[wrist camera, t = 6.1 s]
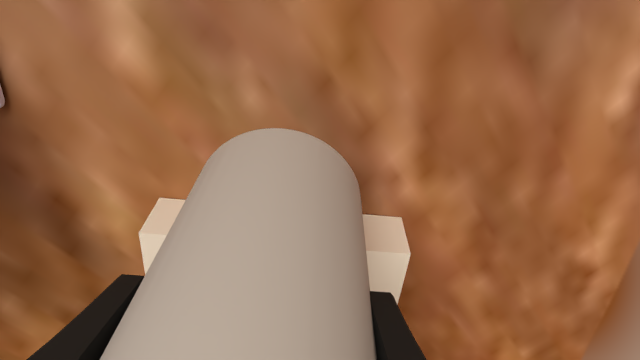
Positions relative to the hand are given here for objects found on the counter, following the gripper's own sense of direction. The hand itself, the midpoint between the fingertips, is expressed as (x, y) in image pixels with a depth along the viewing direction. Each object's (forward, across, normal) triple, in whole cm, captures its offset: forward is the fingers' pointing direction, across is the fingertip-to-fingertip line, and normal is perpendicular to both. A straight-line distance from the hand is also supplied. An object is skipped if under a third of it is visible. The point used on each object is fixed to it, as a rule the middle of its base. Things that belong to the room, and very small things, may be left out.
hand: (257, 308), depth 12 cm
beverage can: (+6, 0, 0) cm, 6 cm away
